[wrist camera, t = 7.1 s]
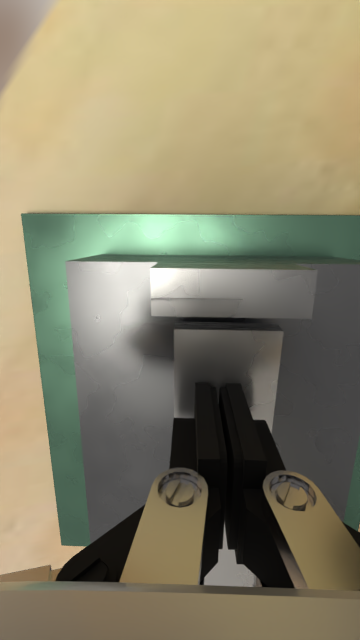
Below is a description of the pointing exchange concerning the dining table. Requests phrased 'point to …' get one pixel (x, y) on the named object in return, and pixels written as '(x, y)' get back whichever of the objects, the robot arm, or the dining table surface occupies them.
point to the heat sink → (158, 345)
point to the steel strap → (217, 369)
